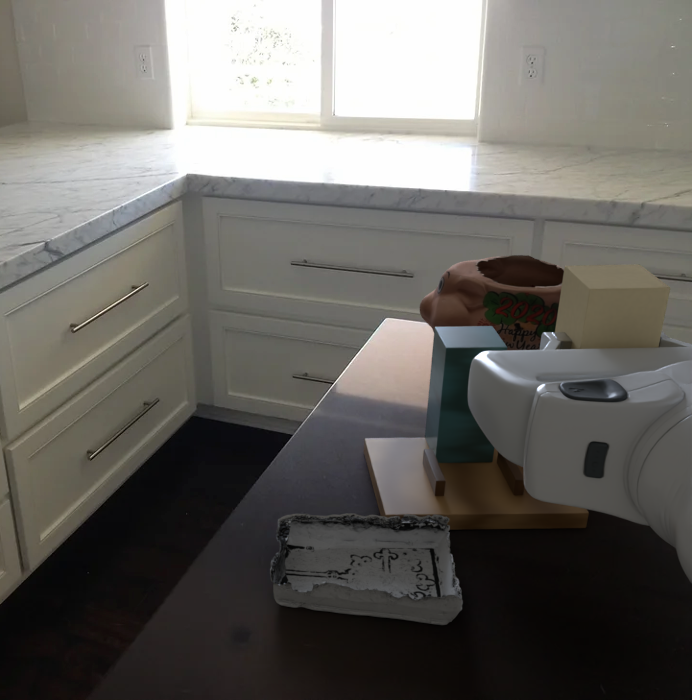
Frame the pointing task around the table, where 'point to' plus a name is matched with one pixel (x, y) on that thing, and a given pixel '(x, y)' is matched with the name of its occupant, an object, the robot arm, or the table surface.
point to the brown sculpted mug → (498, 298)
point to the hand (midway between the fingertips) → (597, 341)
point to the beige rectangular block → (611, 306)
